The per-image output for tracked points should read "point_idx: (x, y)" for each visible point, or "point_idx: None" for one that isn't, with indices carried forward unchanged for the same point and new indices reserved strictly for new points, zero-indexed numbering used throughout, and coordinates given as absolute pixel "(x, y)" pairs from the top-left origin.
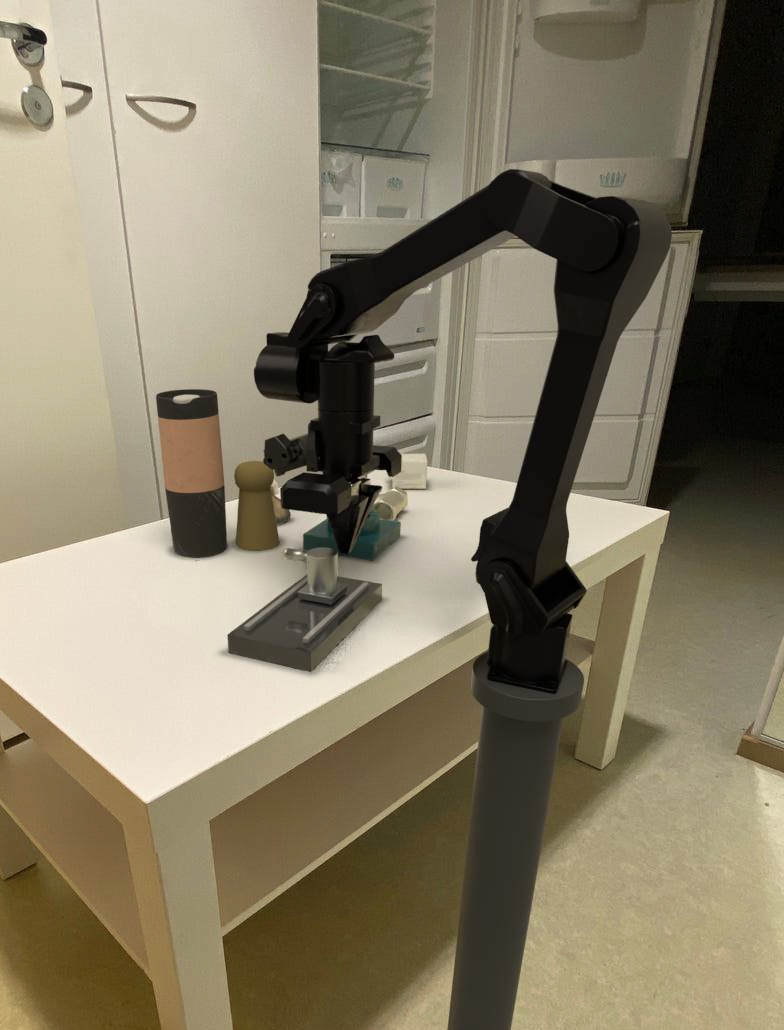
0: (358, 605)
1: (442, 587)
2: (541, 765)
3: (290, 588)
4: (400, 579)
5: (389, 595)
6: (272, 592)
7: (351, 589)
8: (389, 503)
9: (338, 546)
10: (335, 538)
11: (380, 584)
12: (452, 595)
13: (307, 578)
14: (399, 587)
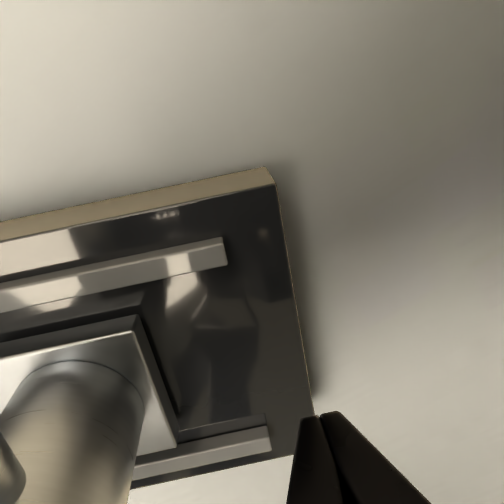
0: None
1: (466, 459)
2: None
3: (50, 244)
4: (480, 360)
5: (350, 399)
6: (118, 56)
7: (213, 414)
8: None
9: (294, 455)
10: (289, 499)
11: None
12: (426, 494)
13: (3, 414)
14: (419, 388)
